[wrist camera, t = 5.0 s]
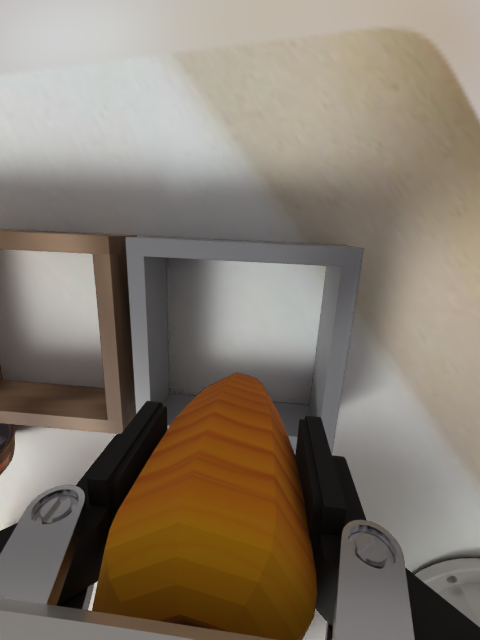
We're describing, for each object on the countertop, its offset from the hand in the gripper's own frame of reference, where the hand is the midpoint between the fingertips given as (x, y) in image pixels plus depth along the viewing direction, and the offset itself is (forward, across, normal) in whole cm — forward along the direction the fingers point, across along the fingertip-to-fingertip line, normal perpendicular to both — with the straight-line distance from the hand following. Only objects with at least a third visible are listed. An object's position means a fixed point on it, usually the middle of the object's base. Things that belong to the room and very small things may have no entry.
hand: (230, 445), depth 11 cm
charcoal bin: (+12, +1, -1) cm, 12 cm away
